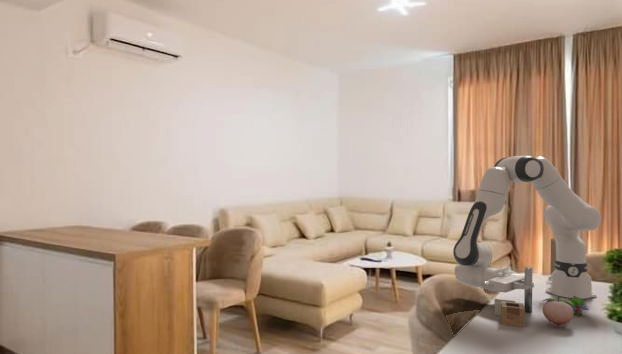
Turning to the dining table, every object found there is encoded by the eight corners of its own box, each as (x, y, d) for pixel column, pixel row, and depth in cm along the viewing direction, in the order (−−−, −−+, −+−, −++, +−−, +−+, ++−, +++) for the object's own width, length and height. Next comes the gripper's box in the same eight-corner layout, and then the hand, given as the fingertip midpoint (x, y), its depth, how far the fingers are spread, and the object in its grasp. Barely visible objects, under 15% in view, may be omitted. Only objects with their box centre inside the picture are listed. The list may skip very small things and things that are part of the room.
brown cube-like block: (501, 318, 154) (501, 301, 154) (523, 320, 151) (523, 303, 151) (501, 324, 147) (501, 306, 147) (524, 326, 144) (524, 308, 144)
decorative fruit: (546, 329, 143) (546, 298, 143) (540, 321, 150) (540, 292, 150) (578, 332, 140) (578, 301, 140) (570, 324, 148) (570, 294, 148)
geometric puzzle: (592, 313, 152) (587, 292, 157) (570, 312, 154) (566, 290, 159) (586, 321, 158) (581, 300, 163) (565, 319, 160) (561, 298, 164)
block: (494, 309, 164) (494, 298, 164) (514, 311, 161) (515, 301, 161) (494, 314, 157) (494, 303, 157) (516, 317, 154) (516, 306, 155)
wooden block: (579, 283, 207) (580, 241, 207) (556, 282, 209) (557, 240, 209) (571, 278, 217) (571, 238, 217) (549, 277, 219) (550, 237, 219)
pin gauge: (524, 309, 163) (524, 266, 163) (531, 310, 162) (532, 267, 162) (524, 311, 161) (524, 268, 161) (532, 312, 160) (532, 268, 160)
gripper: (481, 275, 165) (518, 282, 154) (506, 268, 178) (542, 274, 168) (481, 292, 165) (518, 300, 154) (506, 283, 178) (541, 290, 168)
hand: (530, 286), depth 161 cm, fingers closed on pin gauge, 3 cm apart
